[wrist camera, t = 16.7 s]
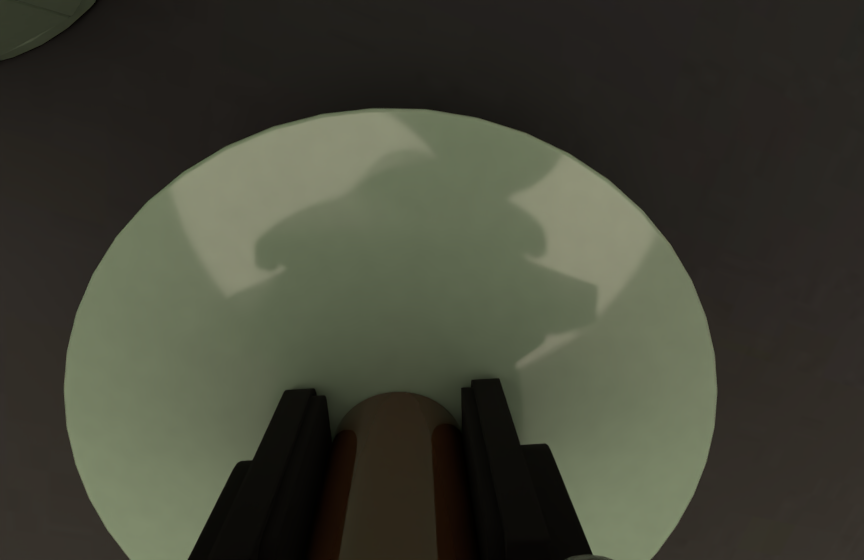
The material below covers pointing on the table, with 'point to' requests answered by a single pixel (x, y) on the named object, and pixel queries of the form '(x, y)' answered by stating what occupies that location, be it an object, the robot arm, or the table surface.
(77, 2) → the pot
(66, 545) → the table surface
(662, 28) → the table surface
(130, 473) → the lid
